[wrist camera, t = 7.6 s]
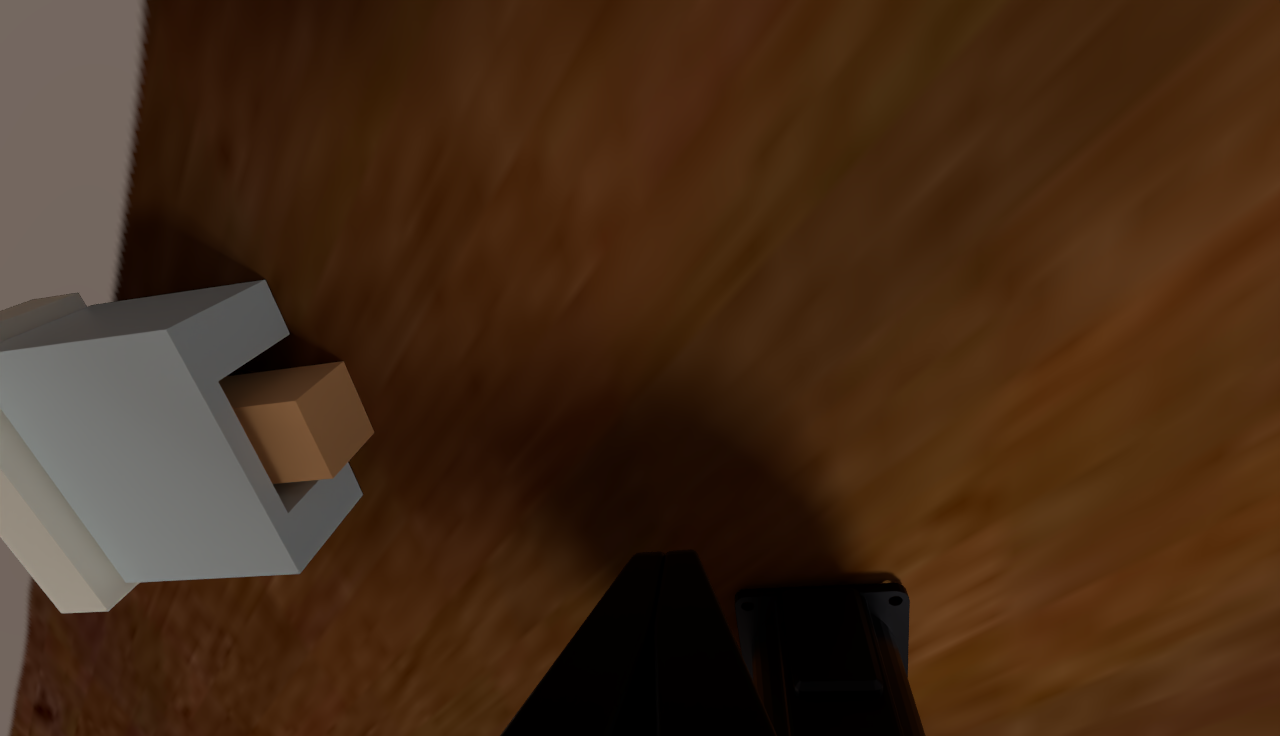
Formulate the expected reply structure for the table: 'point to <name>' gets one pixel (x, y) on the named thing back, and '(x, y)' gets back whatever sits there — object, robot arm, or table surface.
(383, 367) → the table surface
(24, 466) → the wall
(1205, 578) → the table surface
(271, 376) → the tan rectangular brick
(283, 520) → the sled
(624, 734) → the robot arm
